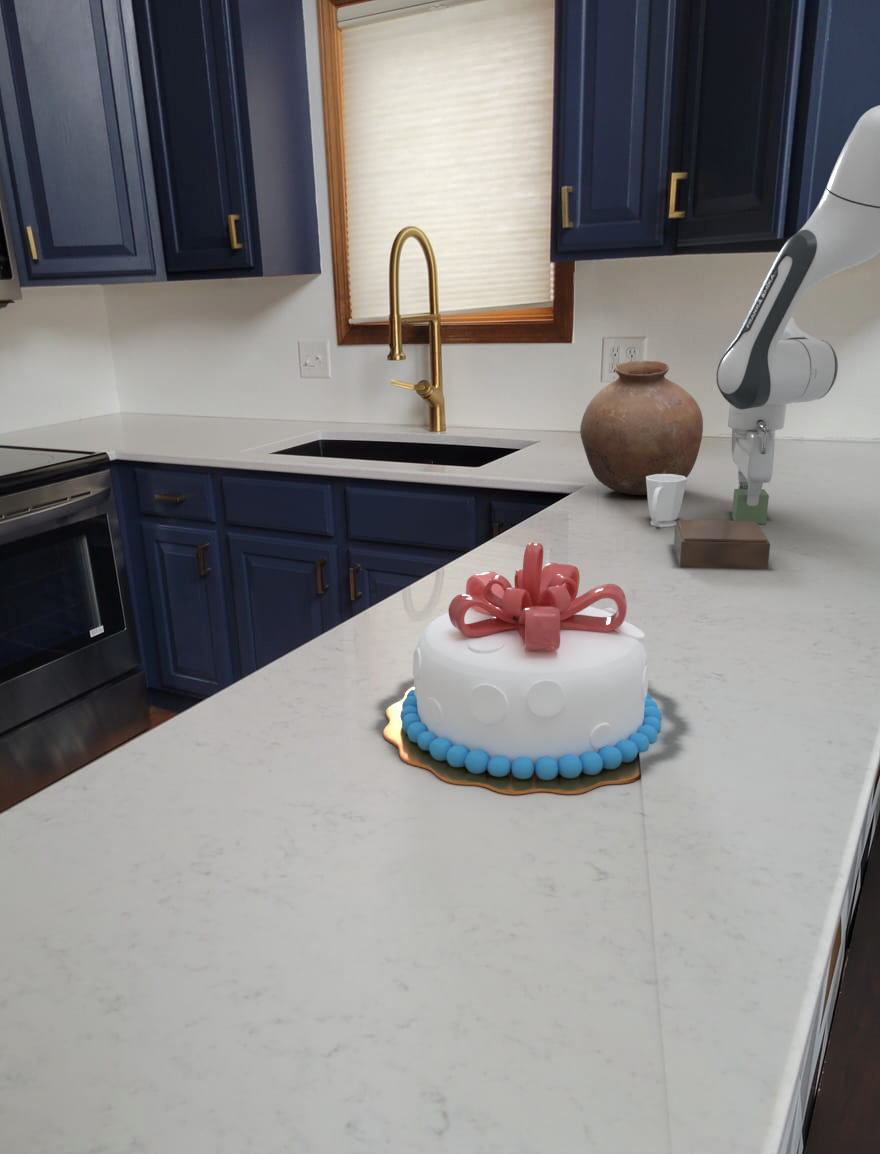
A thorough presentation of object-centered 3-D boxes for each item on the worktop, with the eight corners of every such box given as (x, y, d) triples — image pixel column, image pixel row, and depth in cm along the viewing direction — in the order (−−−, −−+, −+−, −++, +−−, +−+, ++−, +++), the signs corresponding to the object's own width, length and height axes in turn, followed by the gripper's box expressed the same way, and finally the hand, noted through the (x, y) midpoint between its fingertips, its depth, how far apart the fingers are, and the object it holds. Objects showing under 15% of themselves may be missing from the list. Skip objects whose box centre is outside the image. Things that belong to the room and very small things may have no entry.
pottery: (654, 477, 203) (662, 355, 194) (722, 498, 182) (734, 362, 173) (558, 487, 196) (561, 361, 187) (616, 510, 175) (623, 369, 167)
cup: (688, 521, 166) (692, 475, 163) (673, 534, 158) (676, 486, 155) (648, 517, 169) (651, 472, 167) (631, 530, 161) (634, 483, 159)
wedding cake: (581, 653, 109) (587, 497, 103) (743, 757, 85) (764, 561, 78) (347, 693, 101) (338, 526, 94) (452, 822, 76) (450, 608, 70)
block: (761, 517, 167) (764, 489, 166) (766, 524, 163) (769, 495, 161) (731, 517, 168) (734, 488, 166) (735, 523, 164) (738, 494, 162)
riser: (754, 552, 147) (757, 520, 145) (766, 574, 136) (770, 540, 134) (673, 550, 149) (675, 519, 147) (679, 572, 138) (681, 538, 136)
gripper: (788, 426, 149) (777, 513, 154) (766, 408, 168) (757, 486, 173) (745, 425, 150) (736, 512, 155) (728, 408, 169) (721, 486, 174)
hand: (747, 498), depth 164 cm, fingers open, 8 cm apart
